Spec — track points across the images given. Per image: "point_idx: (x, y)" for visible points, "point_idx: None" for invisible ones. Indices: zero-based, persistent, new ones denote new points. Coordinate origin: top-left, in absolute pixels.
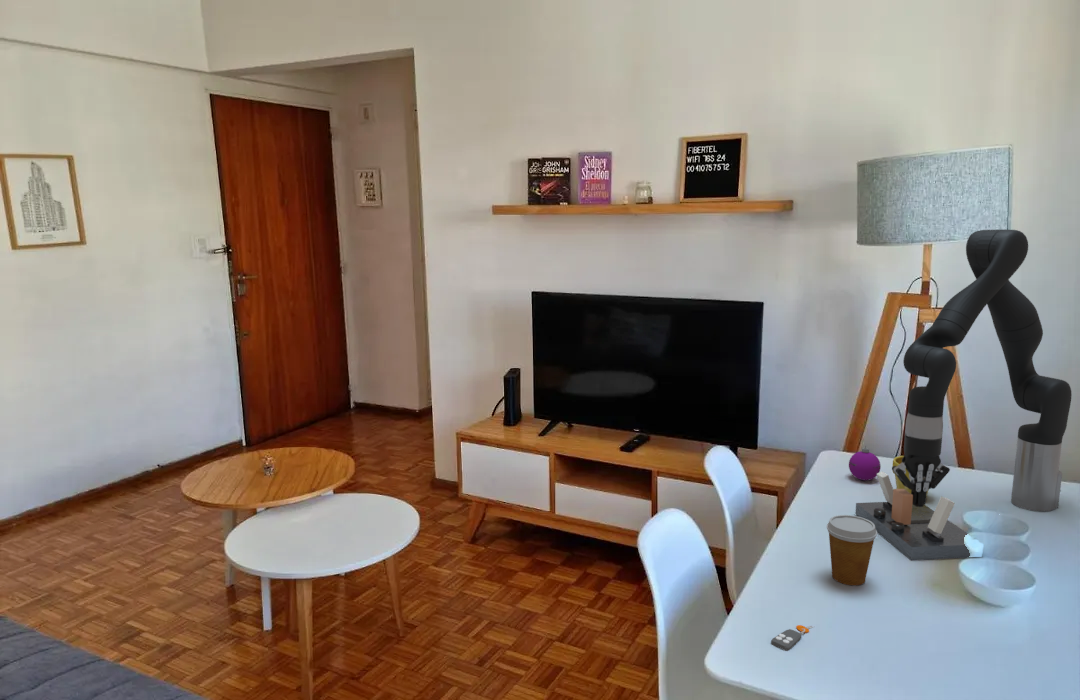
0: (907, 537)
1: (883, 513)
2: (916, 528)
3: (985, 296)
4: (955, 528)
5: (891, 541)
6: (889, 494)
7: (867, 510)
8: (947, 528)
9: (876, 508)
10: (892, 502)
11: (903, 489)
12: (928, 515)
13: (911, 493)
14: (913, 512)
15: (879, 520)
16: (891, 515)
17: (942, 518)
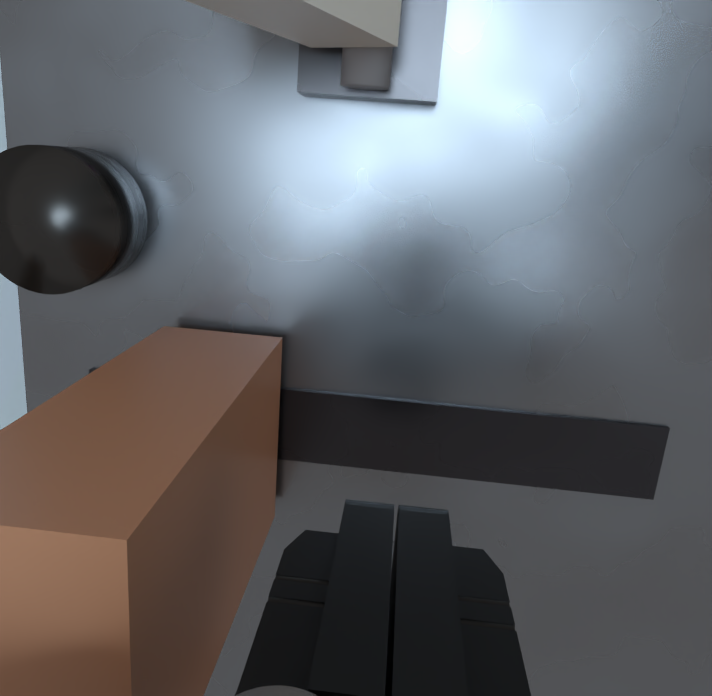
0: None
1: (63, 292)
2: None
3: None
4: (686, 640)
5: None
6: (210, 3)
7: (18, 9)
8: (607, 623)
9: (26, 148)
10: (60, 394)
11: (98, 585)
12: (678, 296)
13: (252, 654)
14: (561, 178)
15: (34, 319)
16: (151, 335)
17: None
